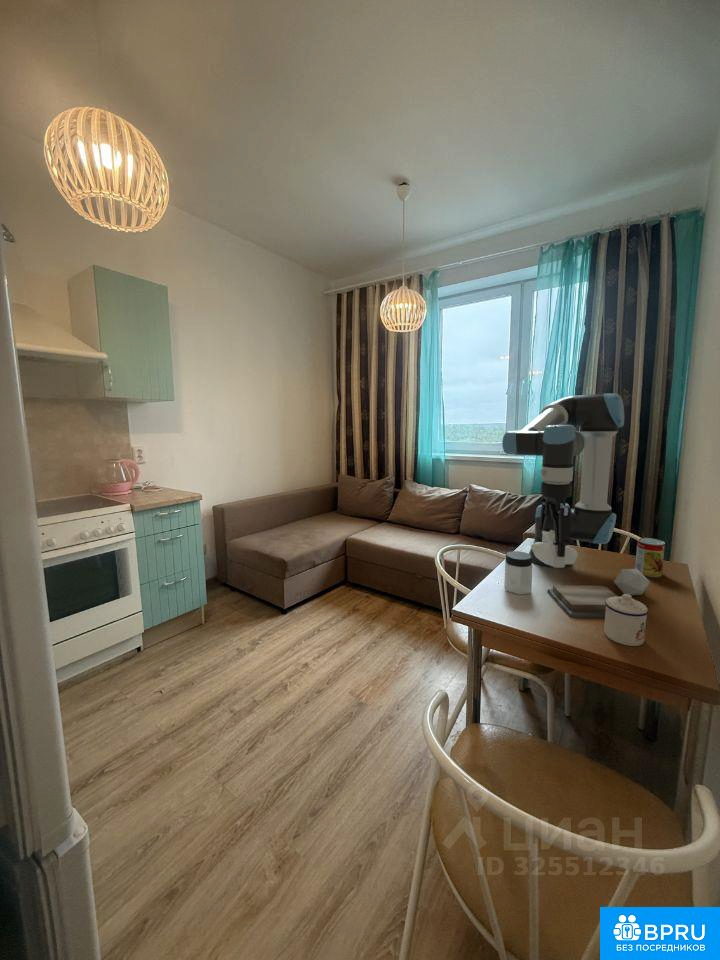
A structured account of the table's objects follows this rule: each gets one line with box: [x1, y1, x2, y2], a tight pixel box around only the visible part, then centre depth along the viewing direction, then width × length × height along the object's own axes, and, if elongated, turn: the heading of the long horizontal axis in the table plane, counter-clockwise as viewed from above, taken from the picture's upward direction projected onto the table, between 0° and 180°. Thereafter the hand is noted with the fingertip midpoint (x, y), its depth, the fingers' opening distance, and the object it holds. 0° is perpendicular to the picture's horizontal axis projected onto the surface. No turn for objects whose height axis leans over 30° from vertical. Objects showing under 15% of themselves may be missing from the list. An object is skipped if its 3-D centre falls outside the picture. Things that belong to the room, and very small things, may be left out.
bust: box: [530, 530, 579, 566], centre depth 107 cm, size 12×8×11 cm
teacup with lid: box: [603, 593, 649, 647], centre depth 100 cm, size 12×9×12 cm
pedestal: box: [547, 584, 619, 618], centre depth 117 cm, size 16×18×3 cm
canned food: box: [634, 537, 666, 578], centre depth 138 cm, size 8×8×12 cm
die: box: [613, 568, 650, 596], centre depth 123 cm, size 8×9×10 cm
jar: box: [503, 550, 533, 595], centre depth 128 cm, size 9×8×12 cm
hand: (552, 561), depth 108 cm, fingers closed on bust, 7 cm apart
